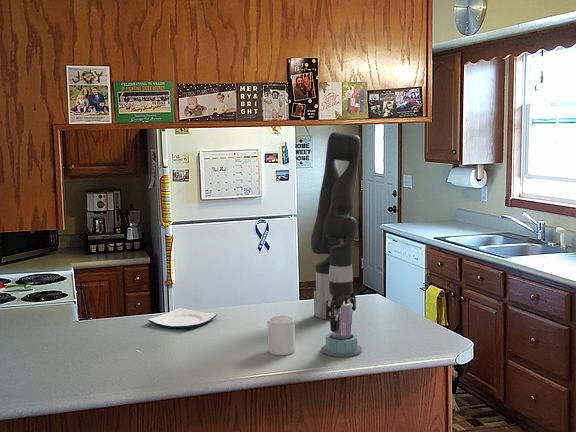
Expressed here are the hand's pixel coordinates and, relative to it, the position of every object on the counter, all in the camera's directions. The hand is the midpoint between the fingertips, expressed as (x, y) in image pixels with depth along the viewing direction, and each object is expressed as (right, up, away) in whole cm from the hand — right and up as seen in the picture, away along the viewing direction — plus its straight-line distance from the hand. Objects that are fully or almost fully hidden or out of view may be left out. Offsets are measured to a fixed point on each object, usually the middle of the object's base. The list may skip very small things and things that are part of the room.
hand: (341, 328), depth 229 cm
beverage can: (0, -7, +1) cm, 7 cm away
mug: (-19, -8, +3) cm, 21 cm away
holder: (0, -7, +1) cm, 8 cm away
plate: (-56, -4, +37) cm, 68 cm away
